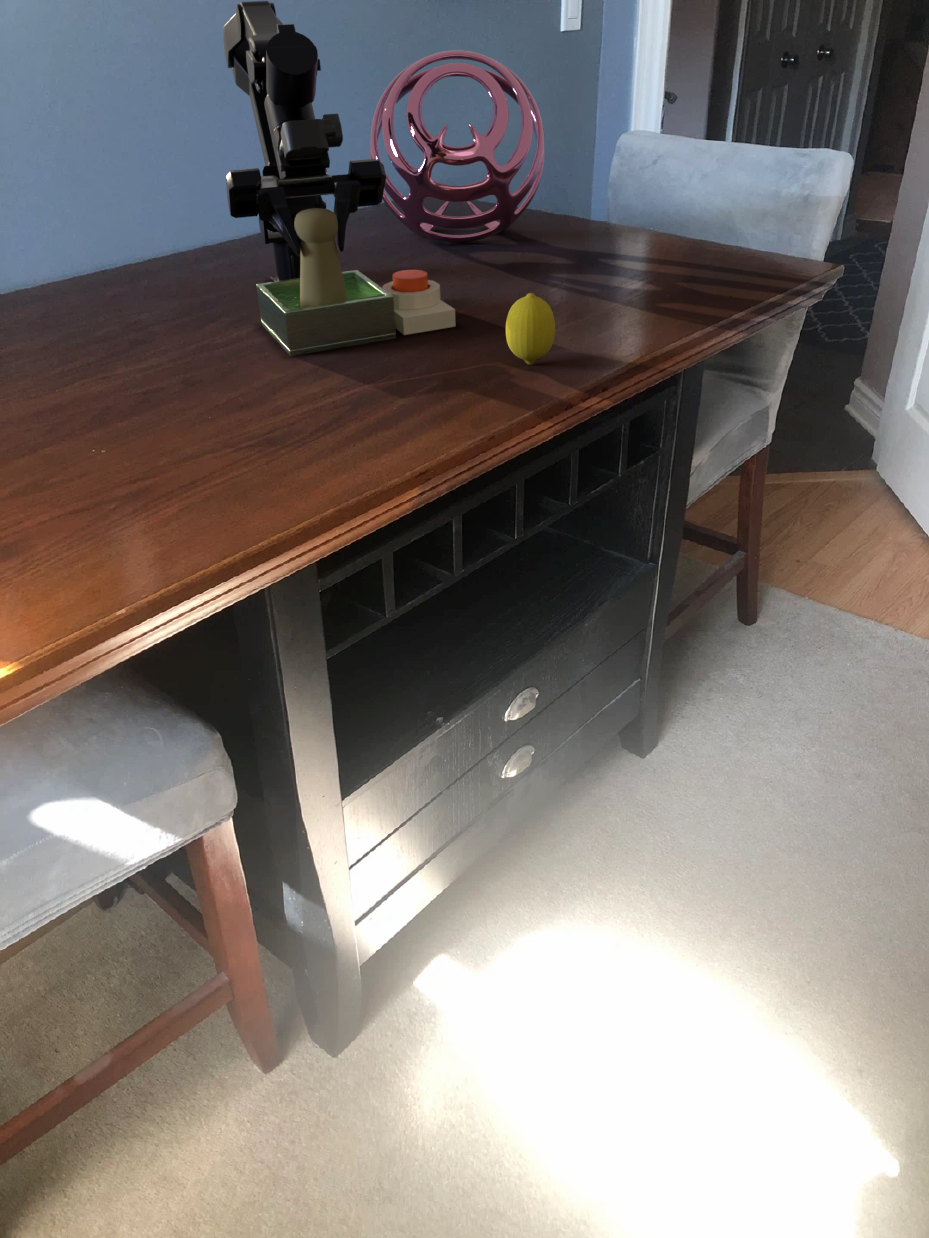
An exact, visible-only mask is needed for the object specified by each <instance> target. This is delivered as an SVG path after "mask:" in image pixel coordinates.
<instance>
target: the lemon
mask: <svg viewBox="0 0 929 1238" xmlns="http://www.w3.org/2000/svg"><path fill="white" fill-rule="evenodd" d="M555 335H556V321H555V316H554V312H553V310H552V308H551V306H550V304H549V303H548V302H547V301H546V300H544V299H543V298H541V297H539V296H536V295H535V293H533V292H528V293H527V294H526V295H525V296H523V297H519V299H518V300H516V301H515V302H514V303H513V304H512V305H511V307H510V309H509V310H508V313H507V316H506V321H505V338H506V344H507V345H508V348H509V350H510V351H511V352H512V354H513V355H514V356H515V357H517V358H518V359H521V360H522V361H524V363H526V364H527V365H533V364H534V363H535V362H536V361H537V360H538V359H541V358H543V357H544V356H546V355H547V353H549V351H550V350H551V349H552V347H553V344H554V341H555Z"/></svg>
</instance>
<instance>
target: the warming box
mask: <svg viewBox="0 0 929 1238" xmlns="http://www.w3.org/2000/svg"><path fill="white" fill-rule="evenodd" d="M342 275H343V279H344V284H345V288H346V293H347V298H348V301H346V302H340V303H333V304H327V305H320V306H314V307H307V308H301V307H300V278H296V279H289V280H282V281H275V282H273V281H269V282H261V283H256V284H255V285H256V293H257V301H258V308H259V315H260V320H261V321H260V322H261V326H262V327H263V328H264V329H265V330H266V332H268V333H269V334H270V336H271V337H272V338H273V339H274V340H275V341H276V343H278V345H280V346H281V348H282V349H283V350H284V351H285V352H286V354H288V355H289V356H290V357H295V356H300V355H306V354H311V353H318V352H324V351H329V350H336V349H341V348H348V347H354V346H360V345H364V344H365V345H366V344H371V343H377V342H383V341H389V340H396V339H397V333H396V332H397V331H396V330H397V329H396V328H395V315H394V300H393V296H392V295H391V294H390V293H388V292H387V291H385V290H384V289H383V288H382V287H381V286H380V285H379V284H377V283H376V282H375V281H373V280H371V279H370V278H369V277H367V276H366V275H365V274H363V273H362V272H360V271H359V270H358V269H353V270H347V271H342Z"/></svg>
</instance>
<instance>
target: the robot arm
mask: <svg viewBox="0 0 929 1238" xmlns="http://www.w3.org/2000/svg"><path fill="white" fill-rule="evenodd" d="M274 3H275V2H270V1H268V0H249V1H247V0H246V1H240V3H236V4H235V14H234V15H233V16H232V17H231V18H230V19H229V20H228V21H227V22H226V23H225V24H224V25H223V27H222V28H223V51H224V59H225V64H226V67H227V69H231V71H232V75H233V79H234V83H235V86H237V87H238V88H239V89H240V90H242V91H243V92H244V93H245V94H246V95H247V96H249V100H250V104H251V108H252V113H253V117H254V121H255V126H256V130H257V135H258V140H259V143H260V148H261V151H262V152H261V153H262V157H263V162H264V166H263V169H262V172H261V169H260V168H259V167H257V168H245V169H244V168H243V169H232V170H231V169H230V170H229V171H228V173H227V174H226V175H225V185H226V198H227V204H228V209H229V214H230V217H232V218H234V219H239V218H241V219H242V218H251V217H257V216H258V226H259V232H260V237H261V239H262V241H263V243H264V244H265V245H269V244H272V248H273V254H274V262H275V270H276V275H270V281H271V282H275V281H282V280H289V279H296V278H300V257H301V240H300V239H299V238H298V237H297V234H296V231H295V227H294V220H295V217H296V214H298V213H299V212H300V211H303V210H306V209H311V208H322V209H327V203H326V202H325V200H323V197H322V196H329V195H332V196H333V198H334V205H333V213H334V214H335V215H336V218H337V221H338V233H337V235H336V241H337V242H336V244H337V247H338V249H339V252H344V250H345V241H346V232H347V224H348V220H349V217H350V215H351V214H355V213H356V212H358V210H359V208H362V207H372V206H378V205H379V204H381V203H382V202H383V199H382V198H383V193H384V191H385V189H384V187H385V181H386V174H387V172H386V170H385V169H386V168H385V165H384V164H383V163H382V161H381V162H380V161H379V160H378V159H370V158H368V159H355V160H349V164H348V173H344V174H334V175H333V174H328V169H330V165H331V160H330V155H329V150H330V148H340V147H341V146H342V144H343V141H344V135H343V128H342V123H341V121H340V120H341V119H340V116H339V113H325V114H323V115H322V118H316V115H315V111H314V107H313V102H314V101H315V97H316V94H317V93H316V91H317V78H318V72H321V71H322V67H321V59H320V58H319V53H318V49H317V46H316V45H315V44H314V42H313V41H312V40H311V39H310V38H309V37H307V36H306V35H305V34H302V33H299V32H298V31H296V27H295V24H294V23H288V24H287V23H285V24H284V23H283V22H282V21H281V20H280V19H279V18H278V17H277V11H276V7H275V4H274ZM385 172H386V173H385ZM261 173H262V174H261Z"/></svg>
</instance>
